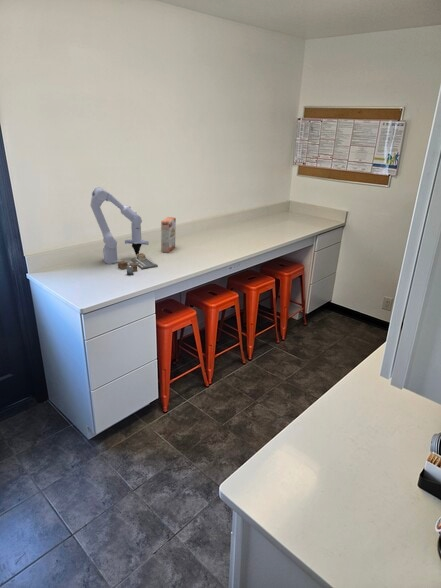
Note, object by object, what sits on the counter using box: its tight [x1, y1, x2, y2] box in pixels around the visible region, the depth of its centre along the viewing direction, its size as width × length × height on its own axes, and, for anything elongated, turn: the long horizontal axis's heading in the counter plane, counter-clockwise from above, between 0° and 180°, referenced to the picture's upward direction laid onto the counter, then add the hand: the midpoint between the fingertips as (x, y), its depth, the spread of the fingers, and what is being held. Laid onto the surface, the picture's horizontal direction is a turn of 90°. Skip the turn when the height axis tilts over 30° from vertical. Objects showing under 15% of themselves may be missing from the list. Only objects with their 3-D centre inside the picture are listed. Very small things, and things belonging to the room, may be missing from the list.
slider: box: [136, 252, 146, 261], centre depth 244 cm, size 4×4×4 cm
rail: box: [131, 256, 159, 270], centre depth 241 cm, size 16×10×2 cm, turn 34°
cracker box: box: [160, 216, 177, 254], centre depth 265 cm, size 14×6×21 cm, turn 168°
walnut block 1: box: [117, 259, 129, 271], centre depth 233 cm, size 4×4×4 cm
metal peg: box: [126, 264, 134, 276], centre depth 224 cm, size 4×4×5 cm
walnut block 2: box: [128, 262, 138, 273], centre depth 230 cm, size 4×4×4 cm
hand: (137, 255), depth 249 cm, fingers closed
